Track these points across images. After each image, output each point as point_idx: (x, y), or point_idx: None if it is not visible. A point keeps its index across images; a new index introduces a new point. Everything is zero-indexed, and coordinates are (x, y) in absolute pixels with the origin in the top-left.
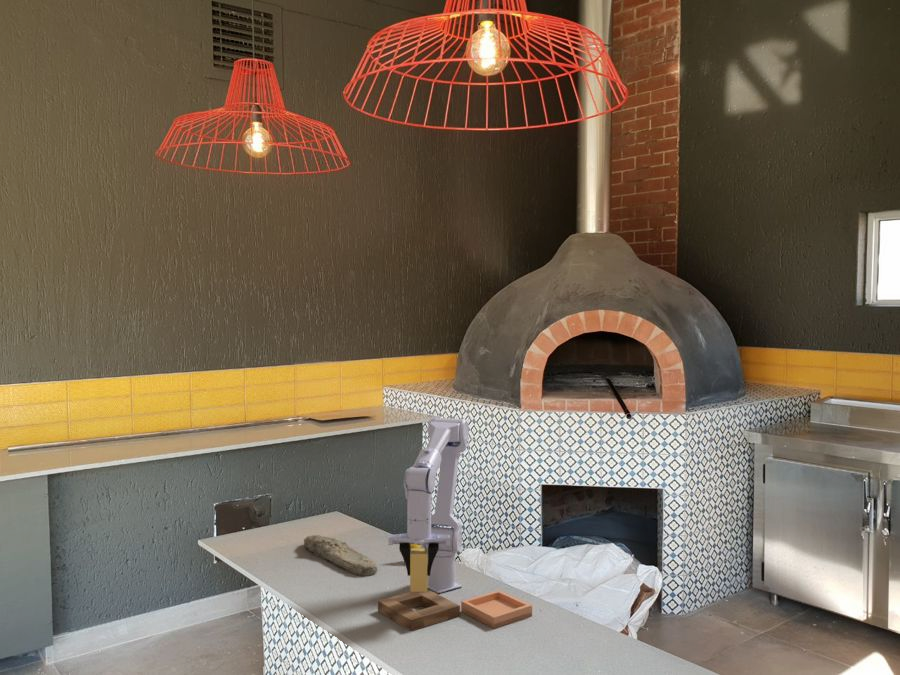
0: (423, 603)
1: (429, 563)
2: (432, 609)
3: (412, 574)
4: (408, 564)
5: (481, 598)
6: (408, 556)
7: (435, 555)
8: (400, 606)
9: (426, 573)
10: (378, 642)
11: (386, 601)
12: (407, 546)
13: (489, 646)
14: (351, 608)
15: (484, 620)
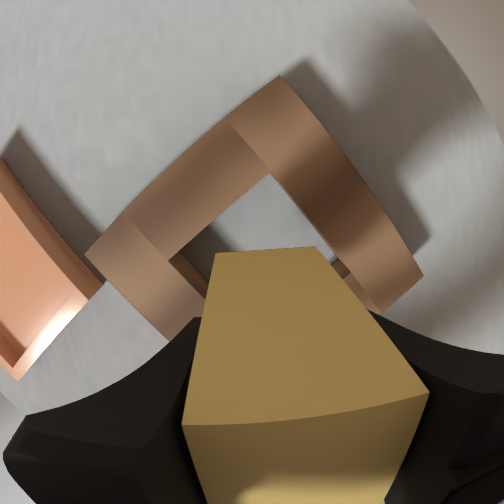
0: None
1: (176, 358)
2: (190, 199)
3: (328, 287)
4: (389, 333)
5: (40, 332)
6: (433, 367)
7: (79, 401)
8: (340, 223)
9: (212, 299)
10: (372, 11)
11: (395, 272)
12: (480, 470)
13: (21, 35)
14: (471, 275)
15: (18, 191)
